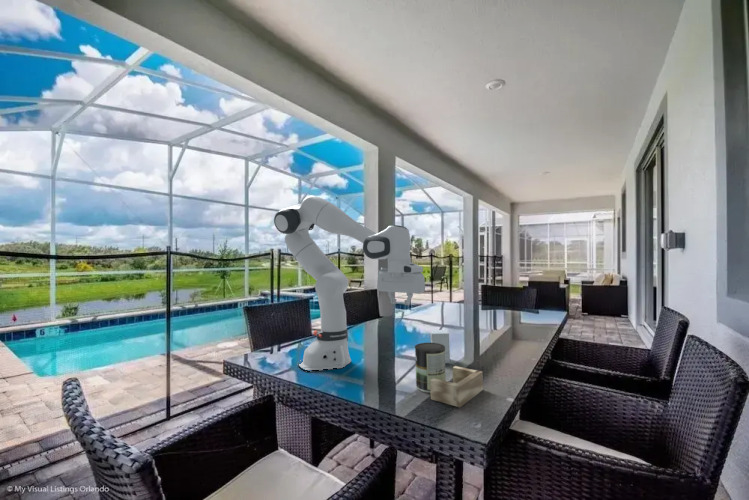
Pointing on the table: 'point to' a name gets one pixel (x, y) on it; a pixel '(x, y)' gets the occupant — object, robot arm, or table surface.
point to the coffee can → (429, 364)
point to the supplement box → (442, 341)
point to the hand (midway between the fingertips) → (400, 304)
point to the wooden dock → (457, 387)
